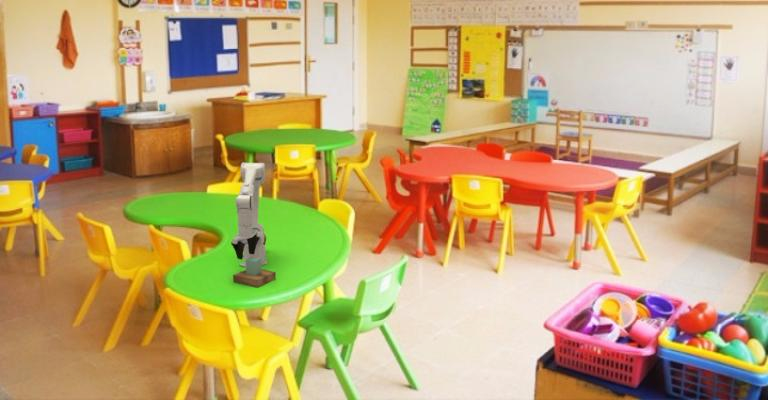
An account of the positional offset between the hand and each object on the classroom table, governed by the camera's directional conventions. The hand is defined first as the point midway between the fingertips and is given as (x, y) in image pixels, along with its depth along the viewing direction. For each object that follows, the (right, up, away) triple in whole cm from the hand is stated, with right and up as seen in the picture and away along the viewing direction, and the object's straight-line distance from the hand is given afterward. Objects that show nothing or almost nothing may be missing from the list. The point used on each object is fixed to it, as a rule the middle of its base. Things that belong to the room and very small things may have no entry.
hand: (245, 256), depth 320 cm
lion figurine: (-2, -2, +33) cm, 33 cm away
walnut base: (+4, -10, 0) cm, 10 cm away
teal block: (+3, -7, -1) cm, 8 cm away
